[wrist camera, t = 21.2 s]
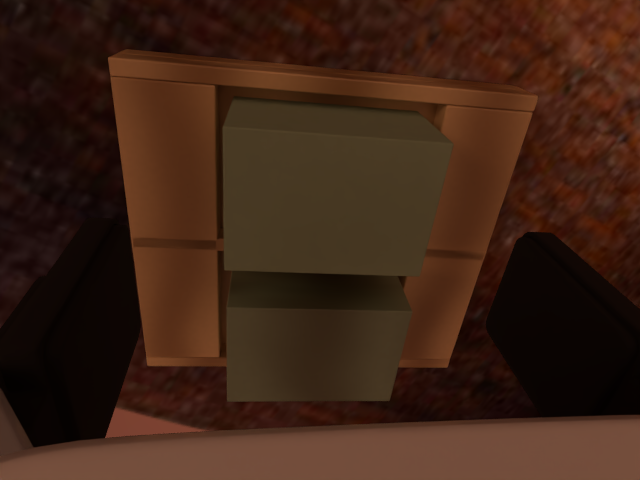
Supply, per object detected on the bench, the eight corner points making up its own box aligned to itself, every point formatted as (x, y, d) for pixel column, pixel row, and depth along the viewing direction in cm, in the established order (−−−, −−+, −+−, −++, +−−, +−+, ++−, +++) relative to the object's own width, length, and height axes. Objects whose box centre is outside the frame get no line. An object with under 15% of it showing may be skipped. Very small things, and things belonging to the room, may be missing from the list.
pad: (232, 217, 19) (223, 271, 15) (233, 95, 16) (222, 126, 13) (394, 225, 19) (420, 277, 16) (417, 110, 17) (454, 143, 14)
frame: (156, 337, 23) (129, 420, 18) (125, 48, 16) (69, 73, 12) (435, 341, 25) (469, 417, 20) (514, 85, 18) (590, 117, 13)
